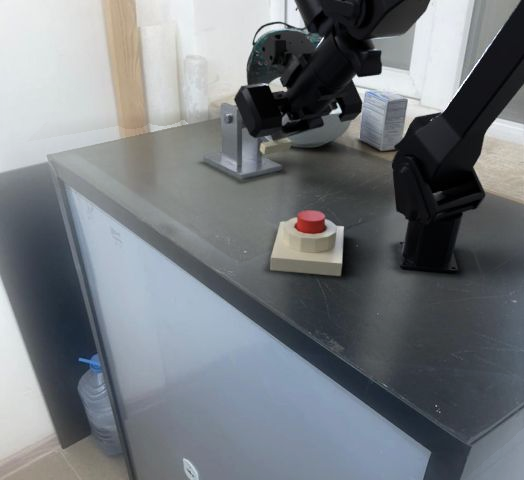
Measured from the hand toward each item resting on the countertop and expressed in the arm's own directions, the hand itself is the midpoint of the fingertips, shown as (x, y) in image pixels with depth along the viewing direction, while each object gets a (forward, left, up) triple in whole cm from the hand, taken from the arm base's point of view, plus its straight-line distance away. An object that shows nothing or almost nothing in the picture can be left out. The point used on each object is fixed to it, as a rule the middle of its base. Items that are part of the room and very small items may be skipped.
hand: (273, 137), depth 81 cm
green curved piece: (+48, +2, -7) cm, 48 cm away
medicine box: (+24, -17, -7) cm, 30 cm away
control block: (-23, -7, -7) cm, 25 cm away
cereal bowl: (+22, -3, -7) cm, 23 cm away
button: (-23, -7, -4) cm, 25 cm away
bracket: (+6, +6, -7) cm, 11 cm away
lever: (+3, +3, -1) cm, 5 cm away
